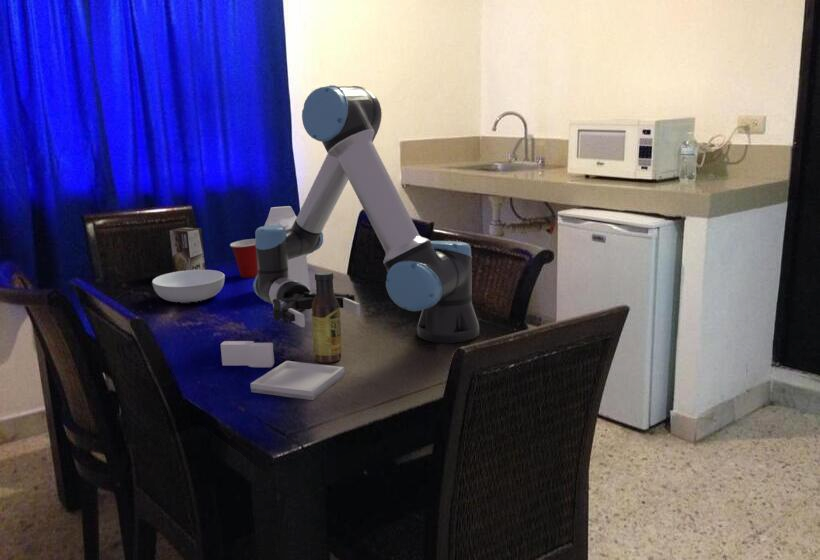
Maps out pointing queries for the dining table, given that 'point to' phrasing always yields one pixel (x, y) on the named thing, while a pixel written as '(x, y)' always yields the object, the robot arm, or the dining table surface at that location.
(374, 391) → the dining table surface
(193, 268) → the coffee box
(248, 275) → the plastic cup
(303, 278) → the milk
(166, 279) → the serving bowl
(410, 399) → the dining table surface
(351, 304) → the robot arm
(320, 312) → the sauce bottle
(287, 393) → the tray
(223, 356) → the white stepped block
